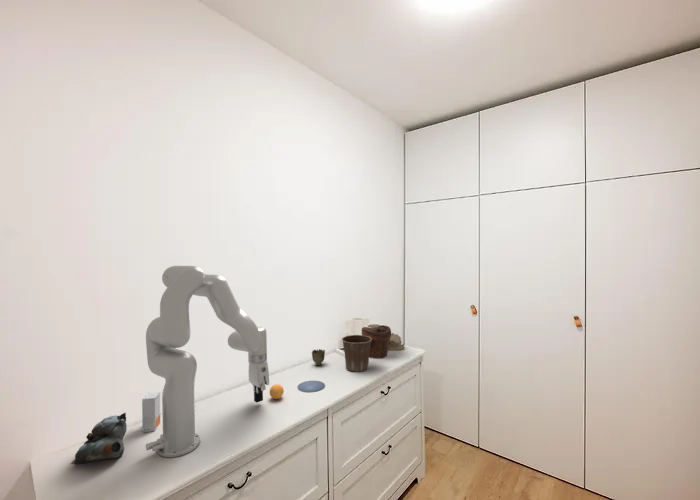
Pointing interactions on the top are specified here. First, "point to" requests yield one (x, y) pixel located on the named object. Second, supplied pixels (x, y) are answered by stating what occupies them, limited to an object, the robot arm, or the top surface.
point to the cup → (318, 356)
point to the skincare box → (150, 412)
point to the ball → (276, 391)
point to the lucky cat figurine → (104, 440)
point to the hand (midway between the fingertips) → (258, 400)
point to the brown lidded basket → (378, 340)
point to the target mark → (311, 386)
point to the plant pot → (356, 352)
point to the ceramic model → (395, 343)
